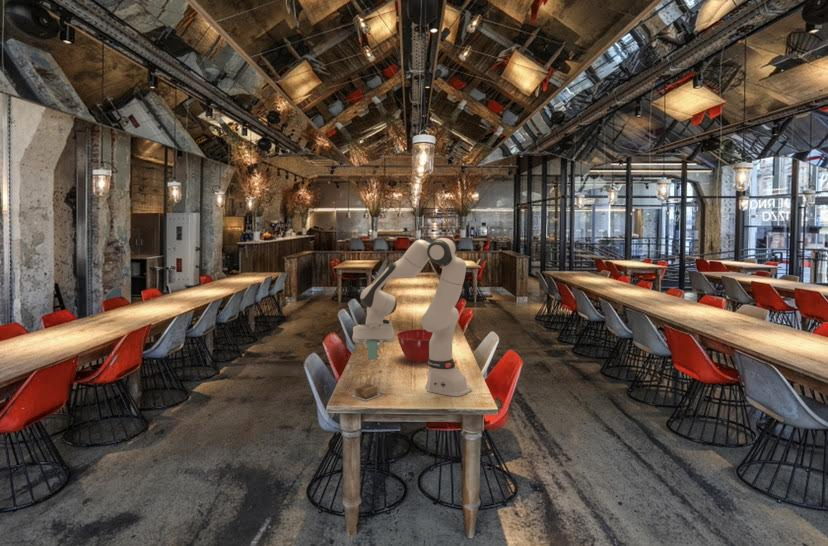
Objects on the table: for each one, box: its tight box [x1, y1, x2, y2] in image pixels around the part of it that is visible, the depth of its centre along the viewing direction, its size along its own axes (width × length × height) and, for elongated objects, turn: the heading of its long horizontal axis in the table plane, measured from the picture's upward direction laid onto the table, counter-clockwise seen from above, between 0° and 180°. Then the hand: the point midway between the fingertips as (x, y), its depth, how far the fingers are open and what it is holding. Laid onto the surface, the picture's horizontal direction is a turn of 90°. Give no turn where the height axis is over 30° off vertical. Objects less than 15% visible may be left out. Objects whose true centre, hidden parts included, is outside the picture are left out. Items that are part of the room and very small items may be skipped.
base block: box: [354, 383, 378, 399], centre depth 228 cm, size 7×7×4 cm
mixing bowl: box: [396, 328, 433, 364], centre depth 287 cm, size 28×28×16 cm
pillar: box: [367, 341, 379, 361], centre depth 237 cm, size 4×4×8 cm
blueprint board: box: [348, 392, 385, 403], centre depth 228 cm, size 12×12×1 cm
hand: (372, 349), depth 236 cm, fingers closed on pillar, 4 cm apart
